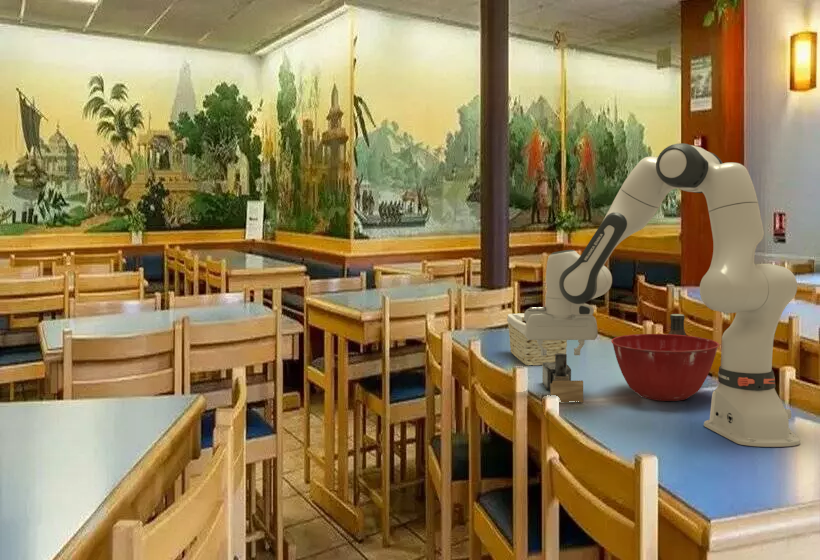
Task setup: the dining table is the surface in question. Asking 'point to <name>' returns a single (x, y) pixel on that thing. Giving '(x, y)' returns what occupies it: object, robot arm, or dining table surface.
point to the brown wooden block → (567, 390)
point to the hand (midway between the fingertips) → (560, 355)
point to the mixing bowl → (664, 364)
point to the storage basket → (531, 343)
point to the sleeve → (547, 370)
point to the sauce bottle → (677, 324)
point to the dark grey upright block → (560, 368)
